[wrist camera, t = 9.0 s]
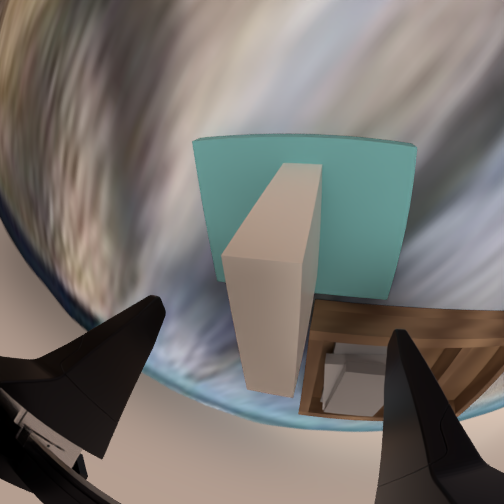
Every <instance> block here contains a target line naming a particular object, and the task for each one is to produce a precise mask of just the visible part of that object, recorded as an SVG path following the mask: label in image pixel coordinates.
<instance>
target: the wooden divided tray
mask: <svg viewBox="0 0 504 504" xmlns="http://www.w3.org/2000/svg"><path fill="white" fill-rule="evenodd" d="M395 329H405V330H406V331H407V332H408V334H409V335H410V337H411V338H412V340H413V341H414V343H415V345H416V346H417V348H418V349H419V351H420V353H421V354H422V356H423V358H424V359H425V361H426V363H427V364H428V366H429V368H430V369H431V371H432V373H433V374H434V376H435V378H436V380H437V381H438V383H439V385H440V387H441V389H442V390H443V392H444V394H445V396H446V398H447V400H448V401H449V404H450V405H451V407H452V409H453V411H454V413H455V415H456V416H457V417H458V416H459V415H460V414H461V413H463V412H464V411H465V410H466V409H467V408H468V407H469V406H470V405H471V404H473V403H474V402H475V401H476V400H477V399H478V398H479V397H480V396H481V395H482V394H483V393H484V392H485V391H486V390H487V389H488V388H489V387H490V386H491V385H492V384H493V383H494V382H495V381H496V380H497V378H498V377H499V376H500V375H501V374H502V373H503V372H504V311H480V310H451V309H430V308H413V307H398V306H384V305H372V304H360V303H349V302H338V301H328V300H319V299H315V303H314V309H313V315H312V321H311V326H310V333H309V342H308V351H307V359H306V366H305V374H304V381H303V388H302V395H301V401H300V407H299V413H298V414H300V415H308V416H316V417H325V418H335V419H348V420H367V421H383V417H384V405H383V406H382V407H381V408H380V409H379V410H378V412H377V413H376V414H375V415H374V416H373V417H370V416H356V415H346V414H336V413H328V412H324V410H322V409H323V402H320V399H321V394H322V390H323V387H324V373H325V359H326V353H327V354H332V352H333V348H334V344H335V342H336V343H347V344H358V345H372V346H388V342H389V340H390V338H391V335H392V333H393V331H394V330H395Z"/></svg>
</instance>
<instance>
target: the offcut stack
mask: <svg viewBox="0 0 504 504" xmlns="http://www.w3.org/2000/svg"><path fill="white" fill-rule="evenodd" d="M386 357H387V346H372V345H358V344H347V343H336V342H335V344H334V348H333V352H332V354H327V353H326V359H325V373H324V387H323V390H322V394H321V399H320V402H323V409H322V410H324V412H328V413H336V414H346V415H356V416H370V417H373V416H374V415H375V414H376V413H377V412H378V410H379V409H380V408H381V407H382V406H383V405H384V380H385V370H386Z"/></svg>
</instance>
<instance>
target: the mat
mask: <svg viewBox="0 0 504 504" xmlns="http://www.w3.org/2000/svg"><path fill="white" fill-rule="evenodd" d="M192 143H193V150H194V156H195V163H196V169H197V175H198V181H199V187H200V193H201V199H202V204H203V210H204V215H205V221H206V226H207V232H208V237H209V242H210V247H211V252H212V257H213V262H214V267H215V272H216V277H217V281H220V282H226V281H225V275H224V269H223V264H222V258H221V255H222V253H223V252H224V250H225V249H226V247H227V246H228V244H229V243H230V241H231V239H232V238H233V236H234V235H235V233H236V232H237V230H238V229H239V227H240V226H241V224H242V223H243V221H244V220H245V218H246V217H247V216H248V214H249V213H250V211H251V210H252V208H253V207H254V205H255V204H256V202H257V201H258V199H259V198H260V196H261V195H262V193H263V192H264V190H265V189H266V187H267V186H268V185H269V183H270V182H271V180H272V179H273V177H274V176H275V174H276V173H277V171H278V170H279V169H280V167H281V166H282V164H283V163H302V164H321V165H322V199H321V224H320V242H319V257H318V271H317V279H316V285H315V292H314V293H319V294H329V295H339V296H349V297H360V298H372V299H384V300H387V298H388V295H389V292H390V288H391V285H392V281H393V278H394V274H395V270H396V267H397V263H398V259H399V255H400V251H401V246H402V242H403V238H404V233H405V228H406V223H407V218H408V213H409V207H410V201H411V195H412V188H413V181H414V173H415V164H416V154H417V147H416V146H414V145H413V144H411V143H404V142H397V141H390V140H382V139H373V138H363V137H352V136H338V135H318V134H250V135H231V136H216V137H205V138H199V139H197V140H194V141H192Z"/></svg>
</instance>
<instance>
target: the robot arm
mask: <svg viewBox="0 0 504 504" xmlns="http://www.w3.org/2000/svg"><path fill="white" fill-rule="evenodd" d="M165 314H166V311H165V308H164V305H163V303H162V300H161V298H160V297H159V296H155V295H150V296H148V297H146V298H144V299H143V300H141V301H139V302H137V303H136V304H134V305H132V306H131V307H129V308H127V309H126V310H124V311H122V312H120V313H119V314H117V315H115V316H114V317H112V318H110V319H109V320H107V321H105V322H104V323H102V324H100V325H99V326H97V327H95V328H93V329H92V330H90V331H88V332H87V333H85V334H84V335H82V336H80V337H78V338H77V339H75V340H73V341H71V342H70V343H68V344H66V345H64V346H62V347H60V348H58V349H56V350H54V351H52V352H50V353H48V354H46V355H44V356H42V357H40V358H37V359H30V360H29V359H19V358H10V357H2V356H0V478H1V479H2V480H4V481H6V482H8V483H11V484H13V485H15V486H17V487H19V488H22V489H24V490H26V491H29V492H32V493H34V494H35V495H36V497H37V498H38V499H39V500H40V501H41V502H42V503H44V504H121V503H119V502H117V501H116V500H114V499H113V498H111V497H110V496H108V495H107V494H105V493H103V492H102V491H101V490H99V489H98V488H96V487H95V486H93V485H92V484H91V483H89V482H88V481H86V479H87V477H88V475H87V471H86V467H85V463H84V459H83V455H82V454H81V451H82V449H83V450H85V451H87V452H89V453H91V454H92V455H94V456H96V457H98V458H100V459H103V457H104V455H105V452H106V450H107V448H108V445H109V443H110V440H111V438H112V436H113V433H114V431H115V429H116V426H117V424H118V421H119V419H120V417H121V415H122V412H123V410H124V408H125V406H126V404H127V401H128V399H129V397H130V395H131V393H132V390H133V388H134V386H135V384H136V382H137V380H138V378H139V376H140V374H141V371H142V369H143V367H144V365H145V363H146V361H147V359H148V357H149V355H150V353H151V351H152V349H153V347H154V344H155V342H156V339H157V336H158V334H159V331H160V328H161V326H162V323H163V320H164V318H165ZM375 504H504V473H503V472H501V471H499V470H497V469H495V468H493V467H491V466H489V465H488V464H487V463H486V462H485V461H484V460H483V459H482V458H481V456H480V455H479V453H478V452H477V450H476V448H475V446H474V445H473V443H472V442H471V440H470V438H469V437H468V435H467V434H466V432H465V430H464V429H463V427H462V425H461V424H460V422H459V420H458V418H457V416H456V415H455V413H454V411H453V409H452V407H451V405H450V404H449V401H448V400H447V398H446V396H445V394H444V392H443V390H442V389H441V387H440V385H439V383H438V381H437V380H436V378H435V376H434V374H433V373H432V371H431V369H430V368H429V366H428V364H427V363H426V361H425V359H424V358H423V356H422V354H421V353H420V351H419V349H418V348H417V346H416V345H415V343H414V341H413V340H412V338H411V337H410V335H409V334H408V332H407V331H406V330H405V329H395V330H394V331H393V333H392V335H391V338H390V340H389V342H388V346H387V357H386V370H385V380H384V417H383V438H382V451H381V462H380V471H379V479H378V487H377V492H376V499H375Z"/></svg>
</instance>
